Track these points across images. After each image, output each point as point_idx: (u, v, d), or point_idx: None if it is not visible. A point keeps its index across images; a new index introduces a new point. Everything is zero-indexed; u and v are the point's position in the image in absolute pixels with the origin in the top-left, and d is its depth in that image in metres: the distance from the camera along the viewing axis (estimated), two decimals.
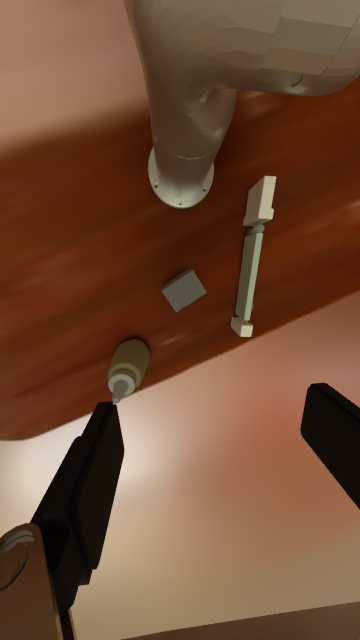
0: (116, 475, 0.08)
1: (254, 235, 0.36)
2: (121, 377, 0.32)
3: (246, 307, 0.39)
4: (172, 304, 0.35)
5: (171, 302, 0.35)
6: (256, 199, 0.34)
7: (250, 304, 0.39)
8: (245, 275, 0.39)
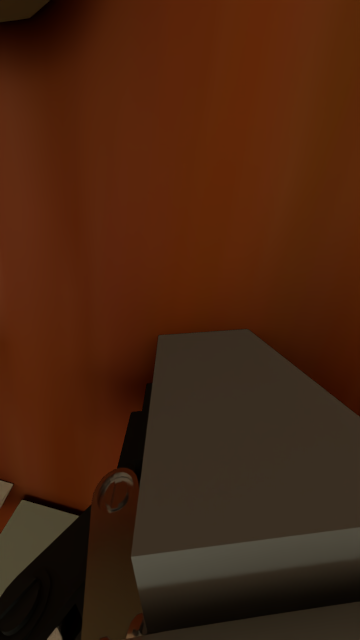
0: None
1: None
2: None
3: None
4: (256, 553, 0.03)
5: (285, 550, 0.03)
6: None
7: None
8: None
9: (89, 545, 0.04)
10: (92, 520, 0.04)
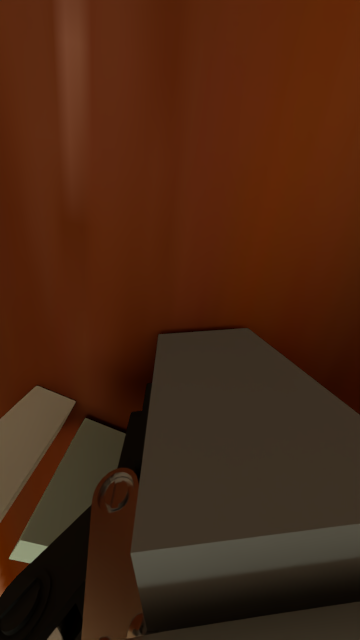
0: None
1: None
2: None
3: None
4: (256, 549, 0.03)
5: (284, 546, 0.03)
6: None
7: None
8: None
9: (89, 545, 0.04)
10: (92, 520, 0.04)
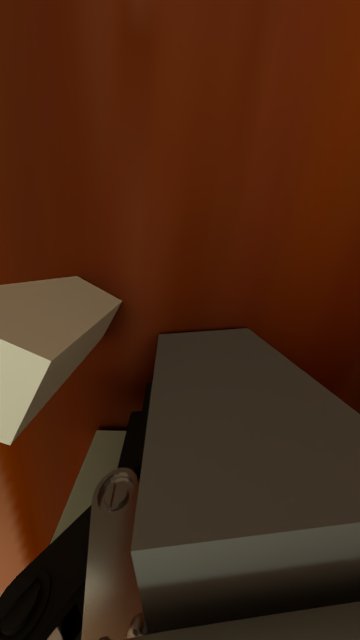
0: None
1: None
2: None
3: None
4: (256, 548, 0.03)
5: (285, 545, 0.03)
6: None
7: None
8: None
9: (89, 545, 0.04)
10: (92, 520, 0.04)
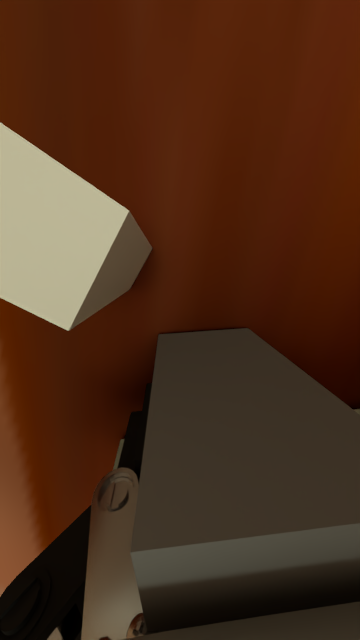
0: None
1: None
2: None
3: None
4: (256, 549, 0.03)
5: (284, 546, 0.03)
6: None
7: None
8: None
9: (89, 545, 0.04)
10: (92, 520, 0.04)
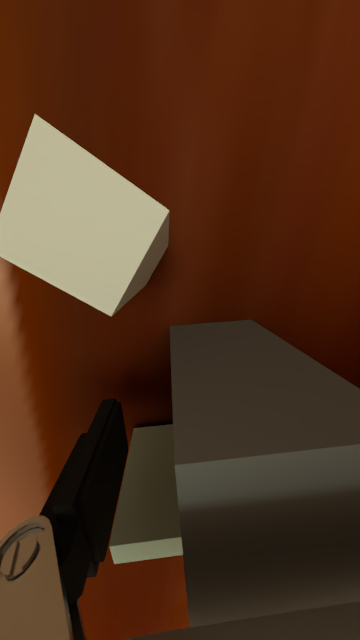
0: (121, 471, 0.08)
1: None
2: None
3: (179, 537, 0.07)
4: (265, 466, 0.03)
5: (287, 465, 0.04)
6: None
7: None
8: None
9: None
10: None
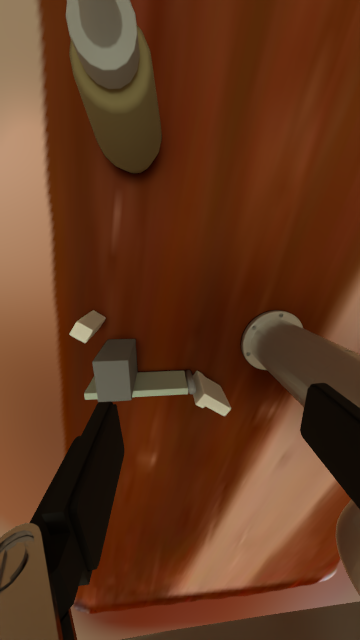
0: (116, 475, 0.08)
1: (185, 385, 0.33)
2: (123, 46, 0.13)
3: None
4: (104, 363, 0.26)
5: (108, 363, 0.27)
6: (215, 393, 0.34)
7: None
8: (142, 380, 0.34)
9: None
10: None
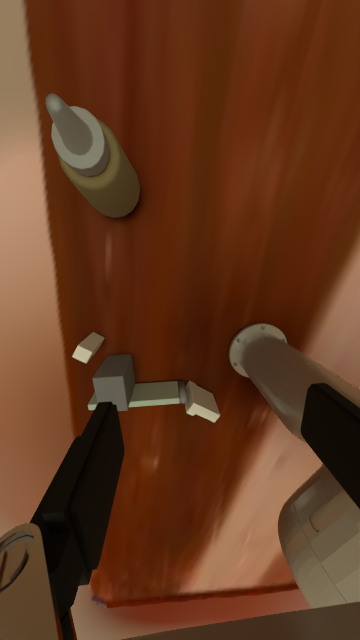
0: (116, 475, 0.08)
1: (177, 395, 0.36)
2: (94, 151, 0.17)
3: None
4: (103, 379, 0.31)
5: (105, 379, 0.31)
6: (206, 401, 0.38)
7: None
8: (139, 391, 0.38)
9: None
10: None
